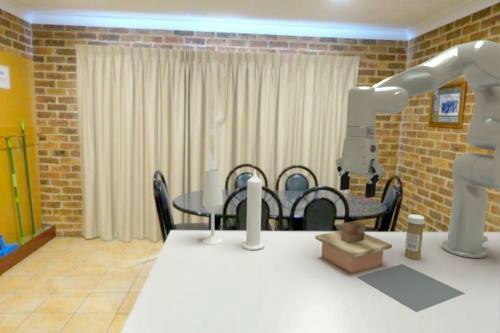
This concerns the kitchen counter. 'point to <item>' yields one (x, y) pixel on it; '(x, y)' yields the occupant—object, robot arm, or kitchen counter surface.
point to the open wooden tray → (351, 259)
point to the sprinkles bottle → (414, 237)
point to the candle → (253, 214)
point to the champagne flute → (212, 200)
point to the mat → (410, 287)
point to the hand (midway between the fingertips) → (356, 193)
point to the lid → (353, 240)
